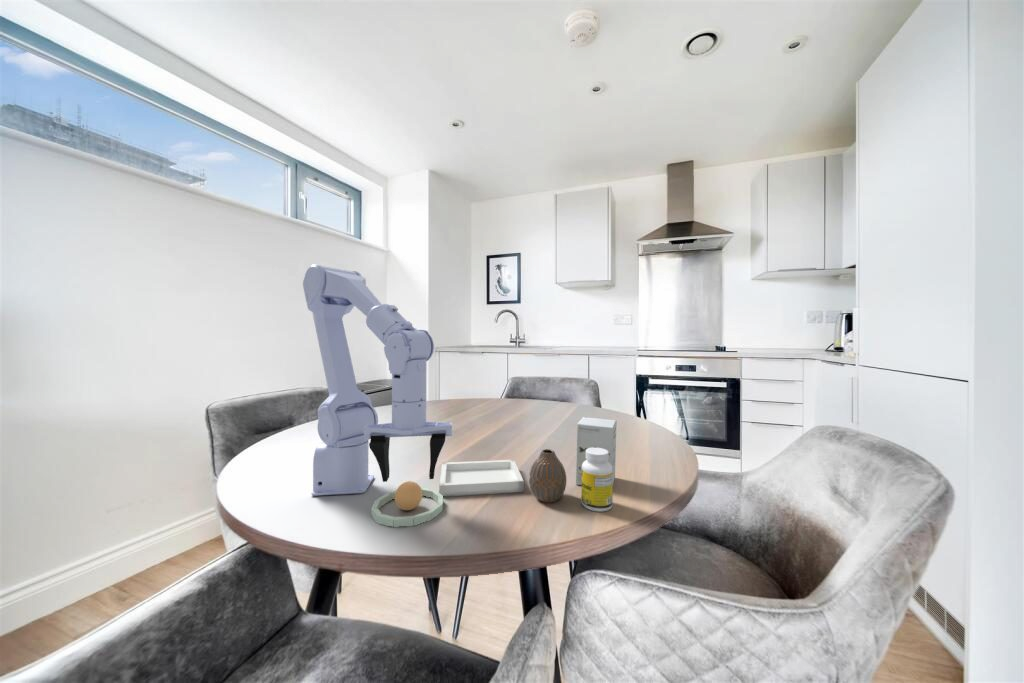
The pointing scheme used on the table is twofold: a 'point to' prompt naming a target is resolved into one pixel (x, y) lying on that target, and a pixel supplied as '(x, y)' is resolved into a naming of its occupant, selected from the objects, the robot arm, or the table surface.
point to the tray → (480, 478)
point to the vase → (547, 477)
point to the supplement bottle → (597, 480)
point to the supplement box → (595, 441)
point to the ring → (406, 520)
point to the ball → (408, 495)
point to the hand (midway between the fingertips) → (409, 478)
